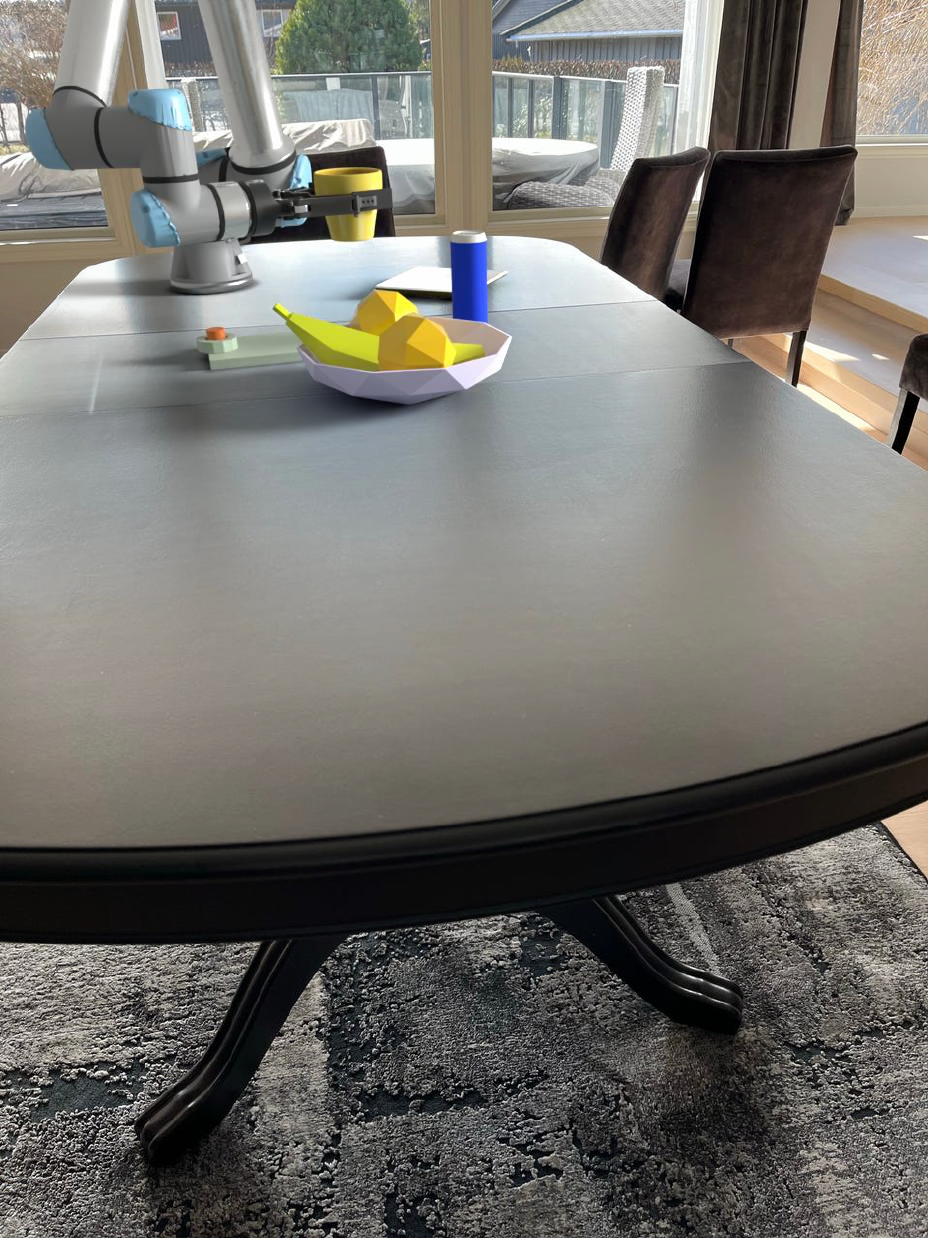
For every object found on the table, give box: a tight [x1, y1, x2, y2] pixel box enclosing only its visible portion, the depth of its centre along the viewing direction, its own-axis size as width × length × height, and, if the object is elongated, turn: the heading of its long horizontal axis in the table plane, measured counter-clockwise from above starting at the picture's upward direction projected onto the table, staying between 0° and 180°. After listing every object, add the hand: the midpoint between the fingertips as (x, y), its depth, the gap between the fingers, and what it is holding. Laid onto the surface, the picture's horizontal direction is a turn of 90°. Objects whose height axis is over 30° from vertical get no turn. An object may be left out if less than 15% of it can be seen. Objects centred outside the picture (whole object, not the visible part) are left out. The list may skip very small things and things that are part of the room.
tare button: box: [205, 326, 226, 340], centre depth 134 cm, size 3×3×2 cm
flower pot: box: [313, 167, 383, 243], centre depth 146 cm, size 10×10×10 cm
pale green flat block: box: [196, 330, 304, 371], centre depth 136 cm, size 12×17×3 cm
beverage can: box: [449, 229, 489, 324], centre depth 136 cm, size 5×5×15 cm
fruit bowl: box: [272, 288, 513, 406], centre depth 118 cm, size 28×27×11 cm
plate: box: [374, 266, 509, 300], centre depth 171 cm, size 19×19×2 cm
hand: (372, 194), depth 148 cm, fingers closed on flower pot, 10 cm apart
